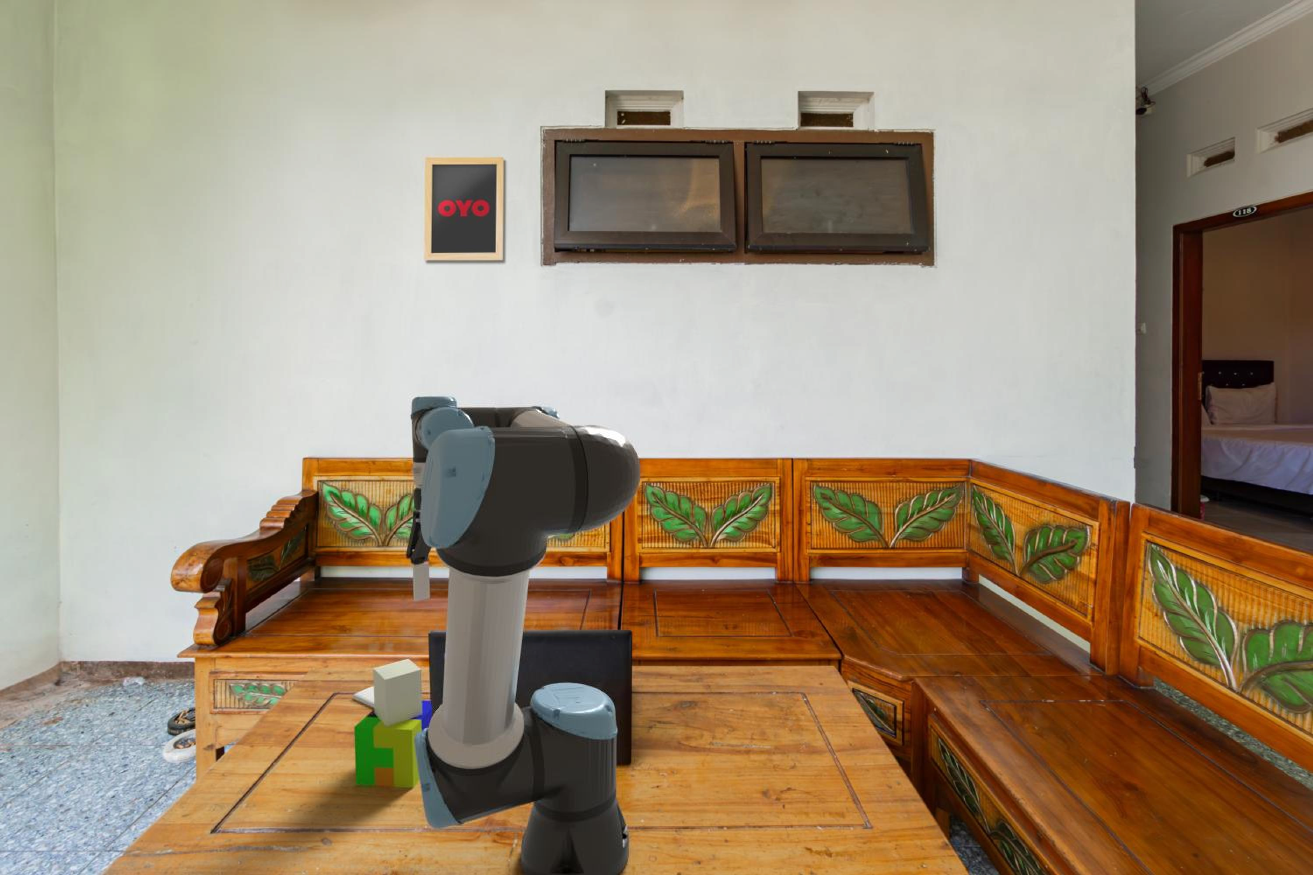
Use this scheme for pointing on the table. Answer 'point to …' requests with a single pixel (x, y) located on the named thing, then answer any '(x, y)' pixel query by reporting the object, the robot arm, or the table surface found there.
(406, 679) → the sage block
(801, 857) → the table surface
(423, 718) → the puzzle toy
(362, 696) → the external hard drive
